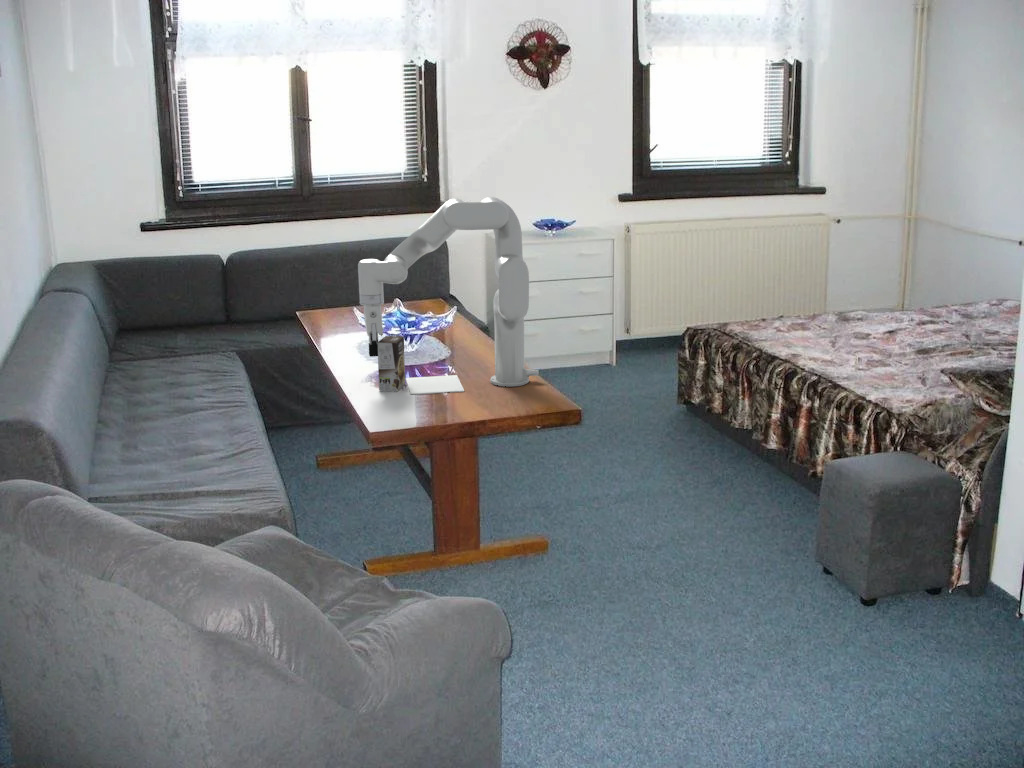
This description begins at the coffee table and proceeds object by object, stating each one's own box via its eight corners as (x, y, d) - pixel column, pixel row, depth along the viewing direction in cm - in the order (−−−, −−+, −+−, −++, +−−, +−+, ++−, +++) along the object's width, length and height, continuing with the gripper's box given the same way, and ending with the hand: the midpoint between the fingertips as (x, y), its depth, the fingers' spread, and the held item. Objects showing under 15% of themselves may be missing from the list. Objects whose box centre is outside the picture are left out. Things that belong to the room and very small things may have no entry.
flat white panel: (456, 376, 367) (456, 375, 367) (464, 391, 350) (464, 390, 350) (405, 379, 365) (405, 377, 364) (410, 394, 348) (410, 393, 348)
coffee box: (397, 392, 350) (396, 342, 346) (378, 391, 352) (376, 341, 347) (406, 384, 359) (404, 335, 354) (387, 383, 360) (385, 334, 356)
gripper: (385, 303, 340) (387, 361, 345) (382, 293, 354) (384, 349, 359) (360, 304, 338) (363, 362, 344) (358, 294, 353) (361, 350, 358)
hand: (374, 355), depth 351 cm, fingers closed
